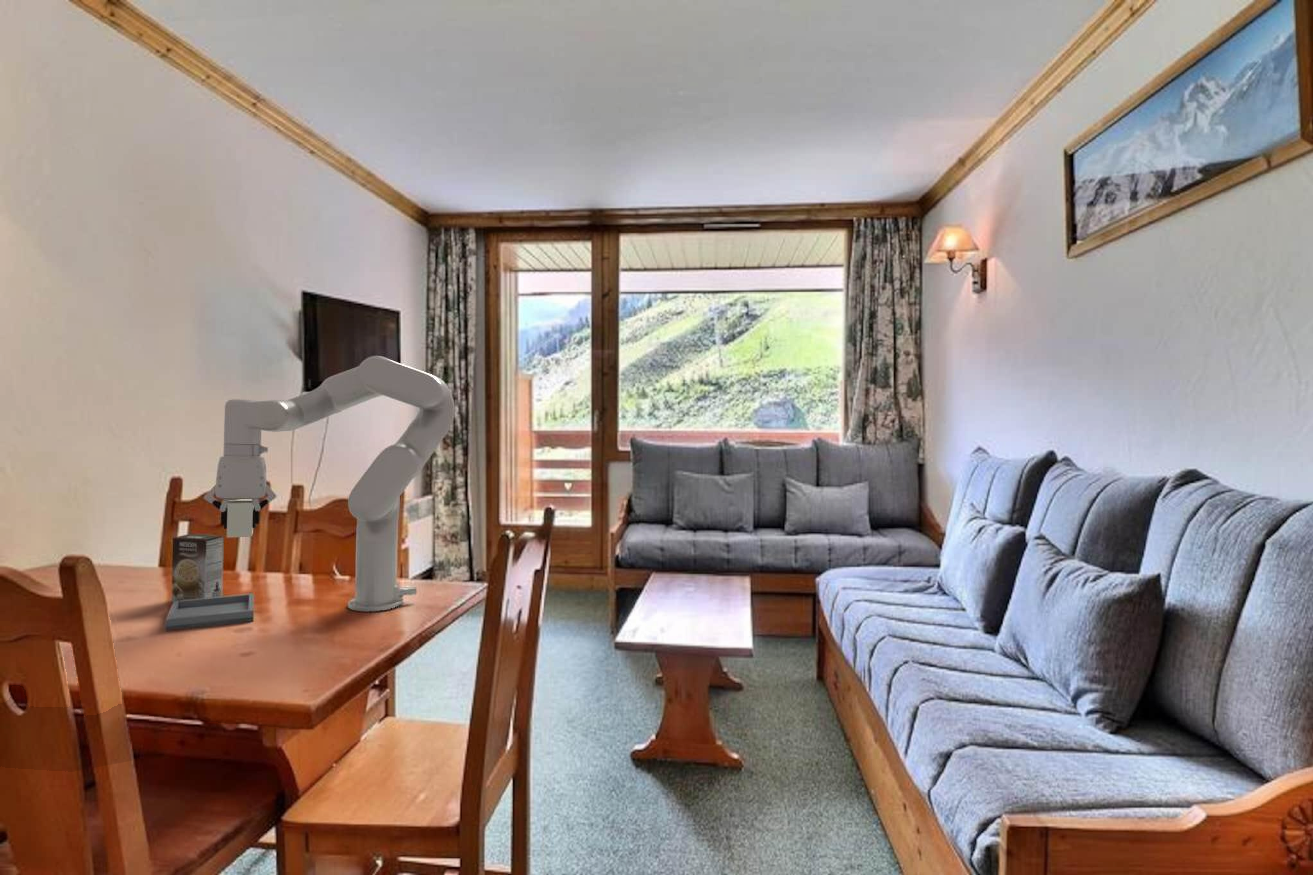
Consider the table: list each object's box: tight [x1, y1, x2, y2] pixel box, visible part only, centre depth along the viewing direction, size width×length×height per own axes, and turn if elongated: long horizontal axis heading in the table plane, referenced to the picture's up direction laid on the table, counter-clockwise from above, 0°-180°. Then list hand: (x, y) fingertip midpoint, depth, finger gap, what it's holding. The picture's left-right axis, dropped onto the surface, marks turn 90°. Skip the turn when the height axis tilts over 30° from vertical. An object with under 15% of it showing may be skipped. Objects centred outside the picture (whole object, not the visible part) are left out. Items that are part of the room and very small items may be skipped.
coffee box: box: [171, 532, 225, 603], centre depth 164 cm, size 9×6×16 cm
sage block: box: [226, 499, 254, 539], centre depth 158 cm, size 5×6×8 cm
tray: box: [165, 592, 255, 632], centre depth 152 cm, size 16×16×2 cm
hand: (240, 526), depth 158 cm, fingers closed on sage block, 5 cm apart
